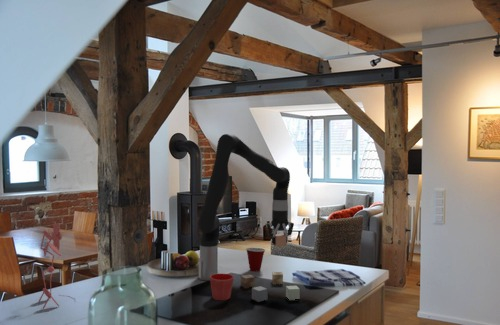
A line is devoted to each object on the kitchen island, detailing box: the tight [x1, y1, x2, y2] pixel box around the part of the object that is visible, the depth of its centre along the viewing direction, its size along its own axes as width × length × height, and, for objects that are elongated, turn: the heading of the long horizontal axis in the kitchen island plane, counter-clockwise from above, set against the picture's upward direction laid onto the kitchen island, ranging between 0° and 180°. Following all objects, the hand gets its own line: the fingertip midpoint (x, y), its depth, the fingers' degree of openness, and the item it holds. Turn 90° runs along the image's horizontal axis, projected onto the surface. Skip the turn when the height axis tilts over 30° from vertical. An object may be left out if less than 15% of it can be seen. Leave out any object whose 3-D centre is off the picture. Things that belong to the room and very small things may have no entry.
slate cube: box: [251, 285, 268, 303], centre depth 213 cm, size 5×5×5 cm
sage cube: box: [285, 285, 301, 301], centre depth 215 cm, size 5×5×5 cm
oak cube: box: [271, 271, 284, 286], centre depth 239 cm, size 5×5×5 cm
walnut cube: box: [240, 274, 256, 289], centre depth 233 cm, size 5×5×5 cm
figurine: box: [38, 221, 75, 313], centre depth 205 cm, size 15×26×35 cm, turn 35°
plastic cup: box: [245, 247, 266, 272], centre depth 263 cm, size 11×11×12 cm
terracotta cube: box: [273, 233, 287, 248], centre depth 230 cm, size 5×5×5 cm
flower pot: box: [209, 273, 234, 301], centre depth 215 cm, size 11×11×10 cm
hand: (279, 244), depth 230 cm, fingers closed on terracotta cube, 5 cm apart
